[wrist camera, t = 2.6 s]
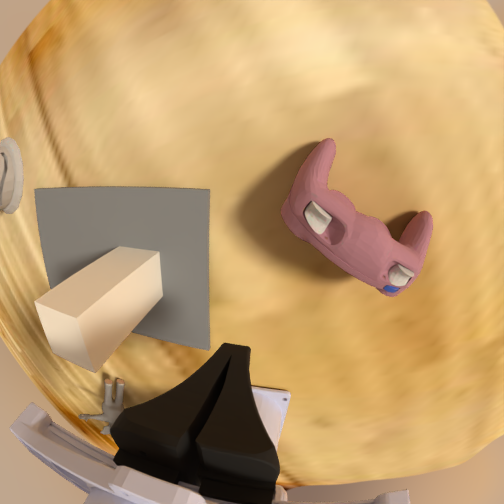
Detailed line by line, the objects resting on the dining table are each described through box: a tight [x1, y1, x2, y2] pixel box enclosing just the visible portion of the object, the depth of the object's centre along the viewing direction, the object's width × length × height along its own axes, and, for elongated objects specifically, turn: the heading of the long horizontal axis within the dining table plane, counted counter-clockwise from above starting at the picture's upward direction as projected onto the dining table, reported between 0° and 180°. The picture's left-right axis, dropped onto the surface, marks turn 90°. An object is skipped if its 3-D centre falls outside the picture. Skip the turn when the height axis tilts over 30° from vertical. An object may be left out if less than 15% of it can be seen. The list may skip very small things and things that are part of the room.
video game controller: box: [281, 138, 433, 297], centre depth 15 cm, size 10×5×7 cm, turn 60°
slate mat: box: [34, 187, 210, 351], centre depth 23 cm, size 14×20×1 cm
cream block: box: [34, 246, 163, 373], centre depth 17 cm, size 4×4×10 cm
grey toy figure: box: [79, 379, 125, 434], centre depth 28 cm, size 10×6×9 cm
